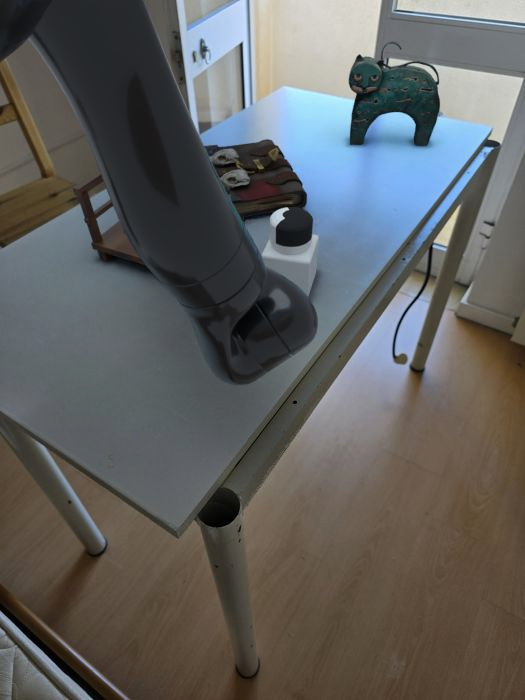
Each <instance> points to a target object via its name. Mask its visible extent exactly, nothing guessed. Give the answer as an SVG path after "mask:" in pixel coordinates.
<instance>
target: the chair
mask: <svg viewBox="0 0 525 700" xmlns="http://www.w3.org/2000/svg"><path fill="white" fill-rule="evenodd" d="M102 183H104V181H103V179H102V176H101V173H100V171H99V170H97V171H96V172H94V173H93V174H91V175H90V176H88V177H86V178H85V179H83V180H82V181H80V182H79V183H77V184H76V185H74V186H73V187H72V192H73V195H74V196H76V197H77V199H78V202H79V205H80V208H81V211H82V215H83V217H84V218H83V221H84V223H85V224H86V226H87V229H88V232H89V235H90V238H91V242H90V244H91V247H92V249H93V250H94V251H97V254H98V256H99V260H101V261H105V262H109V261H110V260H112V258H114V257H117V258H121V259H124V260H128V261H131V262H133V263H137V264H140V265H144V266H146V265H145V263H144V262H143V261H142V259H141V258H140V257H139V255H138V254H137V253H136V251H135V249H134V248H133V246H132V245H131V243H130V241H129V239H128V237H127V236H126V234H125V233H124V231H123V227H122V225H121V223H120V221H119V220H118V221H117V222H116V223H114V224H112V226H110V227H109V228H108V229H107V230H106V231H104V232H102V233H101V230H100V227H99V224H98V220H97V219H98V218H100V217H101V216H102V215H103V214H104V213H106V212H108V211H109V210H110V209H112V207H113V204H112V202H111V199H110V198H109V200H107V201H106V202H105V203H103V204H101V206H99V207H97V208H96V209H95V210H94V208H93V204H92V200H91V199H90V198H91V197H90V194H89V192H90V191H91V190H93V189H94V188H96V187H97V186H99V185H100V184H102Z"/></svg>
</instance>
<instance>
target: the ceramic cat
mask: <svg viewBox="0 0 525 700" xmlns="http://www.w3.org/2000/svg"><path fill="white" fill-rule="evenodd" d="M390 44H391V45H396V46H397V47H398V48H399V50H400V51H401V50H402V46H401V45H400V44H399V42H397V41H389V42H387V43H385V44H384V46H383V48H382V50H381V54H380V60H377V59H376V58H374V57H372V56H367V55H366V56H363V55H361V54H360V53H359V54H357V56H356V57H355V60H354V62H353V64H352V66H351V68H350V71H349V75H348V86H349V88H350V90H351V91H352V92H353V93H355V97H354V102H353V106H352V111H351V117H350V127H349V145H350V146H363V144H364V142H365V138H366V135H367V133H368V130H369V128H370V126H371V125H372V124H373V123H374V122H375V120H377V119H378V118H379V117H380V116H382V115H386V114H392V113H401V114H404V115H407V116H408V117H409V118H411V119H412V121H413V122H414V124H415V125H414V126H415V127H414V133H413V139H412V140H413V141H412V142H413V144H414V145H415V146H417V147H427V146H428V145H429V143H430V140H431V137H432V134H433V132H434V130H435V126H436V124H437V121H438V117H439V113H440V109H441V98H440V95H439V87H438V86H439V85H440V76H439V72H438V71H437V68H436V67H435V65H433V64H431V63H429V62H426V61H420V60H413V61H408V62H406V63H401V64H399V65H392V66H391V65H388V64H386V63H385V59H384V58H383V57H384V56H383V53H384V50H385V48H386V47H387V46H389V45H390ZM412 64H417V65H423V66H427V67H428V68H430V69H432V71H433V72H434V74H435V75H436V79H437V81H436V80H435V79H434V77H433V75H431V73H429V71H427V70H426V69H425V68H422V67H419V66H416V65H412Z"/></svg>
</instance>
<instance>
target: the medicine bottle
mask: <svg viewBox="0 0 525 700" xmlns="http://www.w3.org/2000/svg"><path fill="white" fill-rule="evenodd" d="M313 229H314V218H313V215H311V213H310V212H309V211H307V210H306V209H304V208H302V209H301V208H297V207H286V208H282V209H279V210H277V211H275V212H272V214H271V215H270V217H269V238H268V240H267V242H266V245H265V246H264V249H263V251H262V253H261V256H262V258H263V260H264V263H265V266H266V267H268V268H270V269H272V270H274V271H276V272H278V273H279V274H281V275H283V276H284V277H286V278H288V279H289V280H291V281H292V282H294V283H295V284H296V285H297V286H298V287H300V288H301V289H302V290H303V291H304V292H305V293H306V295H307V296H308V297H309V296H310V293H311V290H312V286H313V284H314V281H315V277H316V275H317V268H318V258H319V257H318V254H319V241H320V237H319V235H318V234H313Z"/></svg>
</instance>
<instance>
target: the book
mask: <svg viewBox="0 0 525 700" xmlns="http://www.w3.org/2000/svg"><path fill="white" fill-rule="evenodd" d="M204 147H205V149H206V151H207V153H208V155H209V157H210V159H211V162H212V164H213V166H214V168H215V170H216V172H217V174H218V176H219V178H220V179H221V180H222V181H223V182H224V183H226V184H227V185H228V186H229V187H230V194H231V201H232V203H233V204H234V206H235V208H236V210H237V211H238V213H239V215H240V217H241V219H242V221H244V219H245V218H249V217H254V216H259V215H264V214H271V213H274V212H275V211H277V210H279V209H282V208H286V207H297V208H301V209H304V208H305V207H306V206H307V203H308V193H307V191H306V190H305V189H304V187H303V182H302V181H301V179H300V178H299V176H298V174H297V173H296V172H295V171H294V168H293V167H292V165H291V163H290V161H288V159H286V158H285V155H284V152H283V151H282V150H281V148H280V146H279V145H277V144H275V142H274V141H273V139H270V138H266V139H261V140H260V141H257V142H249V143H242V144H241V143H239V144H234V145H233V144H232V145H227V146H226V145H225V146H219V145H218V144H208V145H204Z"/></svg>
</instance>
